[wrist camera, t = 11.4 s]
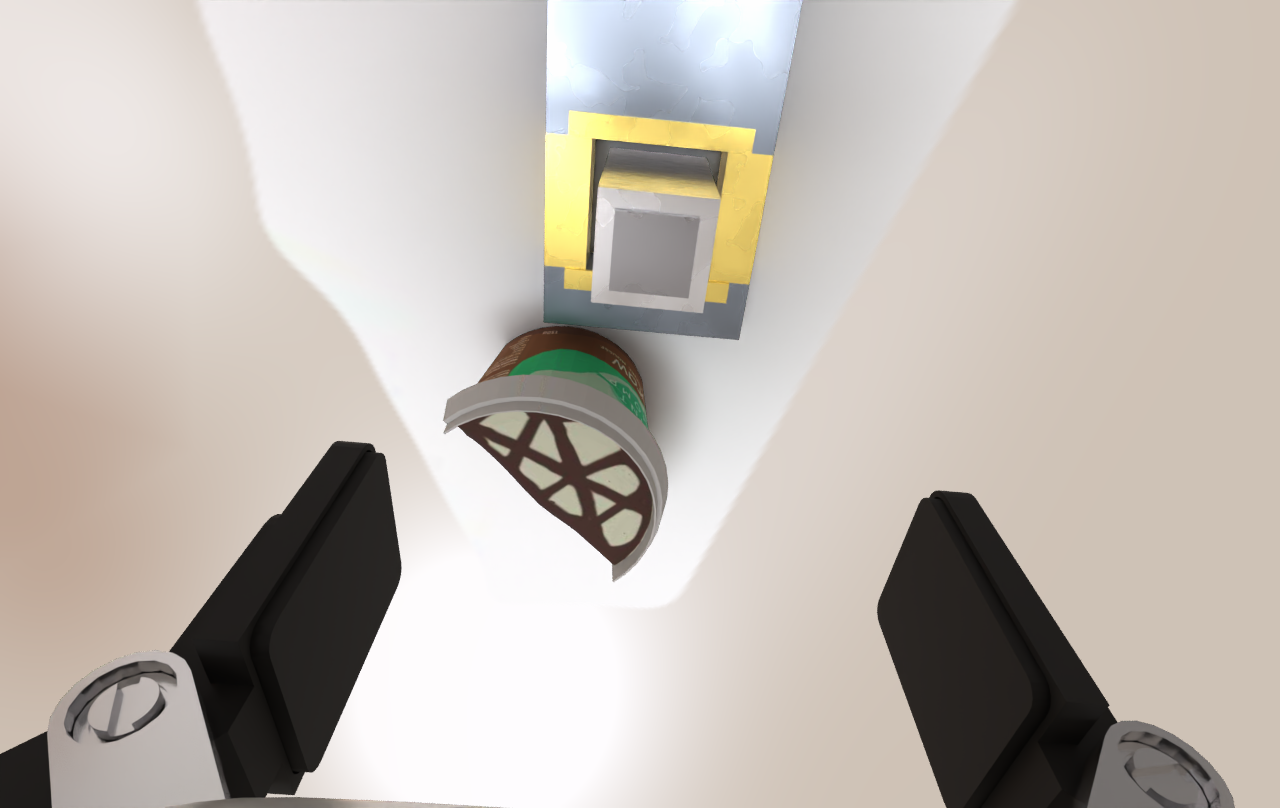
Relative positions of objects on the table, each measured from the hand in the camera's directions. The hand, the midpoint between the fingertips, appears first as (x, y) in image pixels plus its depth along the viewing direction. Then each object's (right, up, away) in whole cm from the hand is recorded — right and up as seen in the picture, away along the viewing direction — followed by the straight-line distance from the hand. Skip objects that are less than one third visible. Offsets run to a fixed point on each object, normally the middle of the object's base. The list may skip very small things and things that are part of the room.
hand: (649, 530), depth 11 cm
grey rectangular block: (0, +12, +21) cm, 24 cm away
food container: (-2, +4, +26) cm, 26 cm away
